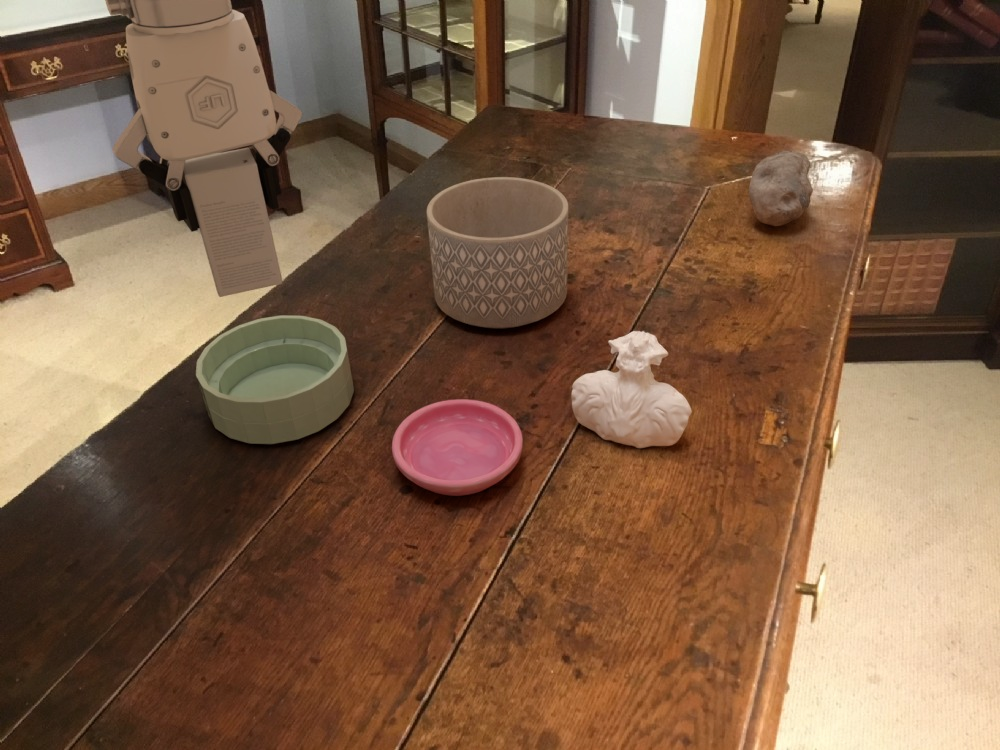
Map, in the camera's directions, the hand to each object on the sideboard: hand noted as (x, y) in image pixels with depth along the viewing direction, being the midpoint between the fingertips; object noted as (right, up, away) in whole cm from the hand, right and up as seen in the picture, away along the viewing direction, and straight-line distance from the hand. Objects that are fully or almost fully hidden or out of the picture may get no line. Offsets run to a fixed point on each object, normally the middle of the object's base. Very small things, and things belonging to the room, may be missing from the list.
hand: (231, 212), depth 76 cm
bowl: (+1, -17, +15) cm, 23 cm away
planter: (+24, -5, +30) cm, 39 cm away
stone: (+64, +8, +46) cm, 79 cm away
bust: (+37, -20, +10) cm, 43 cm away
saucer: (+20, -23, +7) cm, 31 cm away
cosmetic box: (0, -6, +4) cm, 7 cm away
